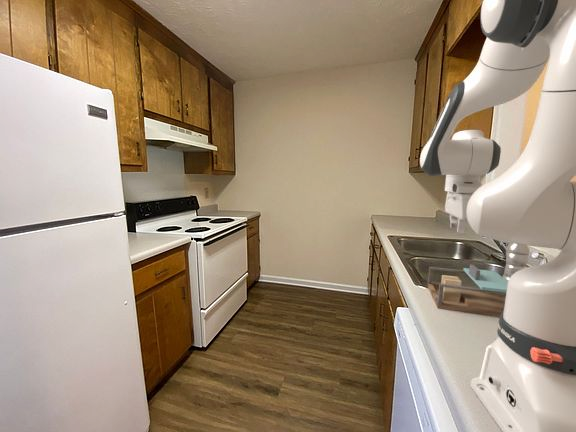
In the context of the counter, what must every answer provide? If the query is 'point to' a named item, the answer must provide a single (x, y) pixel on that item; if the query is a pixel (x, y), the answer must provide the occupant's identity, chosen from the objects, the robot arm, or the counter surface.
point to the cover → (487, 279)
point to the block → (451, 289)
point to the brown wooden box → (467, 298)
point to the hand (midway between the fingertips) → (456, 230)
